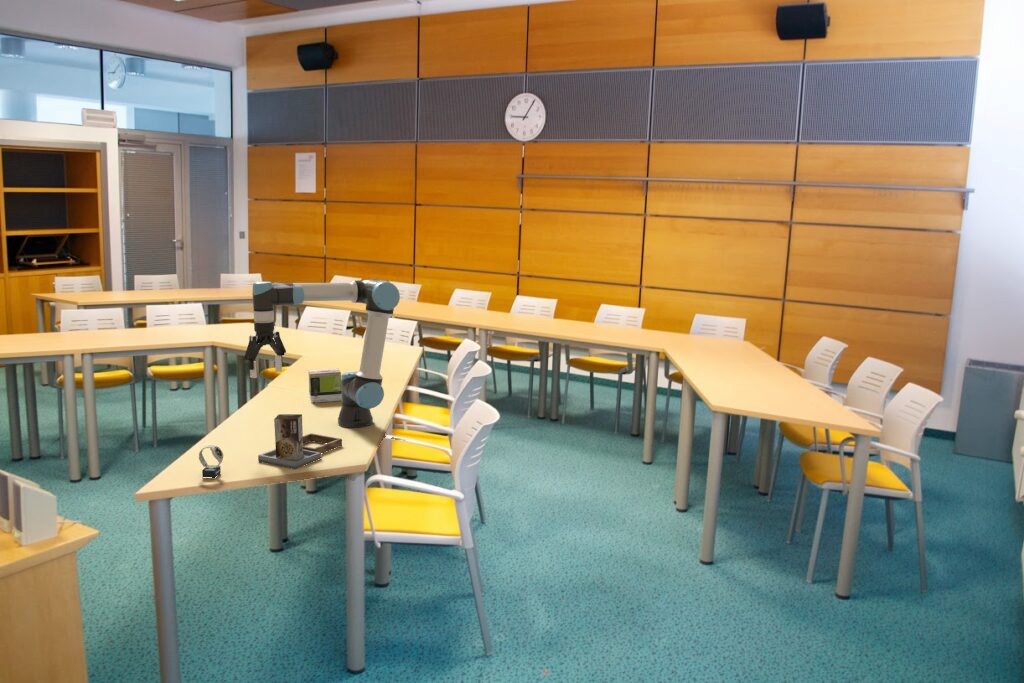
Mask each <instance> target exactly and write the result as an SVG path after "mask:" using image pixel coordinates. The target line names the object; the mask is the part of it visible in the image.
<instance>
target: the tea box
mask: <svg viewBox="0 0 1024 683" xmlns="http://www.w3.org/2000/svg"><path fill="white" fill-rule="evenodd" d="M341 372H342V371H340V369H339V368H329V369H327V368H326V369H311V370H310V369H309V370H308V390H309V391H308V392H309V394H308V395H309V399H310V402H311V403H313V402H315V403H323V402H324V403H327V402H342V395H341V376H342V373H341Z"/></svg>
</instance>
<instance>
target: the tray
mask: <svg viewBox="0 0 1024 683" xmlns="http://www.w3.org/2000/svg"><path fill="white" fill-rule="evenodd" d="M303 454H304V455H303V457H302V458H301V459H300V460H284V459H280V458H276V448H274V449H272V450H269V451H266V452H263V453H261V454H258V456H257V458H258V459H257V460H258V461H259V463H262V462H263V464H267V463H268V465H273V466H276V467H277V466H278V467H280V468H286V469H291V468H292V469H291V470H297V468H298V469H300V468H303V467H305V466H307V465H306V464H308V465H309V463H310V464H312V463H311V462H313V461H315V462H317V461H316V460H318V459H320V458H321V459H322V454H321V453H320V452H315V451H310V450H304V449H303ZM321 459H320V460H321ZM258 461H257V462H258ZM318 461H319V460H318ZM313 463H314V462H313ZM304 465H305V466H304ZM302 466H303V467H302ZM299 467H300V468H299Z"/></svg>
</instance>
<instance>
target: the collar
mask: <svg viewBox="0 0 1024 683" xmlns="http://www.w3.org/2000/svg"><path fill="white" fill-rule="evenodd" d="M309 441H311V442H312V441H315V442H314V443H318V442H322V443H321V444H322V445H319V446H316V447H310V446H305V444H307V443H306V442H308V443H309ZM342 441H343V439H342V438H339V437H334V436H328V435H323V434H317V433H308V434H305V435H303V449H304V450H310V451H315V452H320V453H323V454H325V453H324V452H326V451H328V452H330V451H329V450H331V449H333V450H335V449H334V448H336V447H338V446H341V447H343V442H342ZM304 443H305V444H304ZM323 443H327V444H323ZM338 448H339V447H338ZM336 449H337V448H336ZM331 451H332V450H331ZM326 453H327V452H326Z"/></svg>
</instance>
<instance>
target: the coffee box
mask: <svg viewBox="0 0 1024 683" xmlns="http://www.w3.org/2000/svg"><path fill="white" fill-rule="evenodd" d="M273 422H274V439H275V442H274V444H275V449H276V458H280V459H284V460H300V459H301V458H302V457H303V455H304V454H303V446H304V444H303V436H304V435H303V432H304V431H303V430H304V429H303V414H301V413H300V414H299V413H298V414H293V413H291V414H288V413H287V414H285V413H284V414H277V415H276V417H274V419H273Z"/></svg>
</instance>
